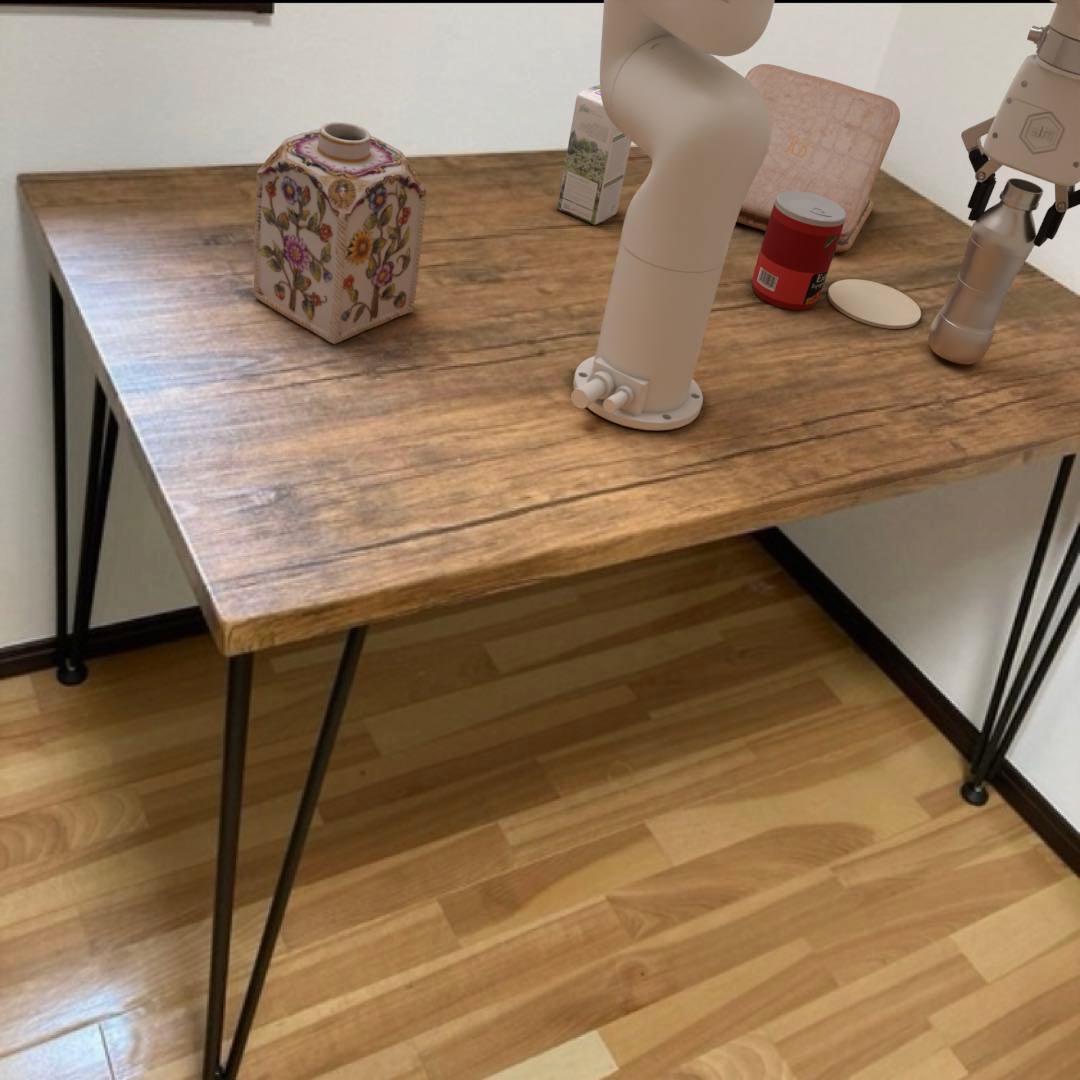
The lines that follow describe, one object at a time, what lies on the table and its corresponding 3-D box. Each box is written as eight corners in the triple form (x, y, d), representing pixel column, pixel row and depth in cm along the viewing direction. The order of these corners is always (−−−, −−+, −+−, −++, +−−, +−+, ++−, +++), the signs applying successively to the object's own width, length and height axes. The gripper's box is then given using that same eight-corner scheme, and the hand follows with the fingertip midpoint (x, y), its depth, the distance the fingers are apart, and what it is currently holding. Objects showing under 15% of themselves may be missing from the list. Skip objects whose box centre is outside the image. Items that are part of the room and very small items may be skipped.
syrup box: (618, 214, 154) (643, 97, 145) (593, 227, 150) (617, 108, 141) (579, 197, 156) (601, 82, 147) (554, 210, 152) (575, 91, 143)
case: (688, 212, 158) (720, 86, 148) (734, 164, 174) (765, 47, 164) (843, 263, 154) (886, 136, 144) (875, 209, 170) (916, 91, 160)
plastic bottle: (971, 378, 135) (1050, 206, 123) (913, 353, 137) (985, 181, 125) (988, 358, 140) (1065, 190, 127) (931, 334, 142) (1002, 166, 130)
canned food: (816, 317, 140) (846, 227, 134) (747, 300, 141) (773, 209, 134) (818, 289, 147) (847, 201, 140) (752, 272, 147) (778, 184, 140)
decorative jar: (249, 298, 123) (253, 119, 112) (334, 267, 131) (345, 98, 120) (335, 349, 118) (347, 167, 107) (418, 313, 126) (437, 141, 115)
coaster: (899, 339, 140) (900, 335, 139) (812, 301, 144) (813, 297, 143) (933, 309, 147) (934, 305, 147) (849, 273, 151) (850, 270, 151)
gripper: (982, 32, 119) (917, 208, 130) (1162, 91, 112) (1078, 271, 123) (1006, 21, 124) (942, 191, 135) (1179, 77, 118) (1097, 250, 129)
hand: (1007, 228), depth 129 cm, fingers open, 6 cm apart
